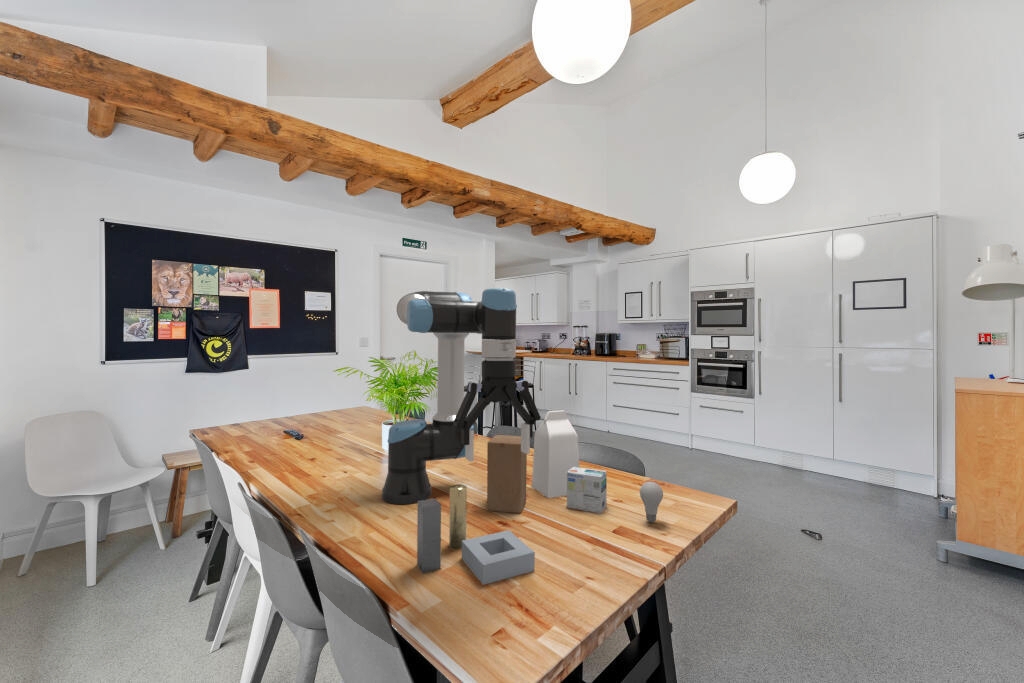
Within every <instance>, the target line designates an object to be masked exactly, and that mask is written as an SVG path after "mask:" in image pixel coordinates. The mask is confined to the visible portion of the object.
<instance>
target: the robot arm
mask: <svg viewBox="0 0 1024 683" xmlns="http://www.w3.org/2000/svg"><path fill="white" fill-rule="evenodd" d="M517 307H518V306H517V296H516V292H515V291H514V290H513V289H511V288H500V287H499V288H497V287H495V288H486V289H483V291H482V295H481V301H473V300H472V297H471V296H470V295H469V294H468V293H465V292H464V293H462V292H457V291H454V292H452V291H427V290H420V291H414V292H410V293H407V294H405V295H404V296H402V297H401V298H400V299H399V301H398V302H397V305H396V314H397V317H398V318H399V320H400V321H401V322H402V323H404V324H405V325H406V326H407V329H408V331H409V332H412V333H419V334H427V333H433V335H434V336H435V338H436V339H437V396H436V397H437V404H436V405H437V406H436V407H437V408H436V412H435V414H434V415H433V416H432V422H431V423H428V422H427V421H426V420H425V419H423V418H422V419H421V418H418V419H417V418H414V419H407V420H403V421H400V422H399V421H398V422H395V423H394V424H393V425H391V426H390V427H389V429H388V439H387V443H388V444H387V450H388V451H387V452H388V453H387V455H388V456H387V459H388V460H387V474H386V478H385V481H384V485H383V487H382V490H381V498H382V500H383V501H384V502H386V503H390V504H393V505H409V504H415V503H418V501H421V500H427V499H429V498H430V497H431V496H432V485H431V483H430V479H429V475H428V473H427V462H429V461H431V462H432V461H441V460H452V459H453V460H457V459H460V458H465V460H468V461H469V462H474V458H475V457H474V453H475V452H474V451H475V450H474V447H475V446H474V445H475V444H474V443H475V442H474V438H475V431H474V430H475V428H474V424H475V423H476V421H477V420H478V419H479V417H480V416H481V415H482V413H483V412H484V410H485V409H486V408H487V407H488V406H489V405H490V404H491V403H493V404H495V403H496V404H497V403H500V402H502V403H507V402H509V404H510V405H511V406H512V407H513V409H514V410H515V412H516V413H517V414H518V415H519V416H520V418H521V419H522V421H524V422H521V423H520V436H521V452H523V453H525V454H527V455H530V450H531V449H530V448H531V447H530V446H531V445H530V444H531V441H530V440H531V439H532V438H533V433H534V429H533V426H534V425H535V424H536V422H538V421H540V420H541V415H540V413H539V410H538V408H537V406H536V403H535V402H534V399H533V397H532V394H531V392H530V389H529V388H530V386H529V381H528V380H525V379H519V380H518V381H516V376H517V373H516V372H517V370H516V368H517V363H516V361H515V360H514V359H515V358H516V356H517V355H516V354H517V352H516V351H517V340H516V339H517ZM470 334H477V335H481V358H483V359H484V360H482V361H481V382H480V383H479V382H478V383H477V382H473V381H472V382H471V381H469V382H467V387H466V388H467V389H466V393H465V339H466V338H467V337H468V336H469V335H470ZM516 389H517V391H519V394H520V396H521V398H522V401H523V403H524V406H525V407H526V408H525V407H524V406H523V404H522V403H521V402H520V400H519V398H518V397H517V396H516V394H515V393H514V392H515V391H516ZM480 391H481V392H482V394H481V395H480V396H479V398H478V401H477V402H476V404H475V405H474V406H473V408H472V409H471V407H472V405H473V404H474V401H475V399H476V396H477V394H478V393H479V392H480ZM470 410H471V411H470Z"/></svg>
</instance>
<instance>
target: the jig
mask: <svg viewBox="0 0 1024 683" xmlns="http://www.w3.org/2000/svg"><path fill="white" fill-rule="evenodd" d="M535 553H536V552H535V551H534V550H533V549H532V548H531V547H529V545H527V544H526V543H525V542H524V541H522V539H520V538H519V537H517V536H516V534H514V533H513V532H512V531H511V530H509V529H508V530H504V531H498V532H494V533H489V534H485V535H480V536H478V537H477V536H476V537H473V538H469V539H467V538H466V540H463V541H462V549H461V559H462V561H463V562H464V563H465V564H466V566H467V567H468V568H469V569H470V570H471V572H472V573H473V574H474V575H475V577H476V578H477V579H478V580H479V581H480V583H481V584H482V586H483V585H489V584H491V583H495V582H498V581H502V580H506V579H509V578H513V577H517V576H520V575H525V574H528V573H531V572H534V571H535V568H536V567H535V566H536V565H535V561H536V560H535Z"/></svg>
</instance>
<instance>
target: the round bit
mask: <svg viewBox="0 0 1024 683" xmlns="http://www.w3.org/2000/svg"><path fill="white" fill-rule="evenodd" d="M467 488H468V487H467V486H466V485H464V484H452V485H450V486H449V532H448V533H449V536H448V537H449V538H448V539H449V548H450V549H451V550H462V541H463V540H467V493H468V492H467Z"/></svg>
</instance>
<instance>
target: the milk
mask: <svg viewBox="0 0 1024 683" xmlns="http://www.w3.org/2000/svg"><path fill="white" fill-rule="evenodd" d="M533 439H534V440H533V458H532V459H533V460H532V476H531V477H532V480H531V487H532V488H533V489H534V490H535V491H539V493H540V494H542V495H543V496H544V497H546V498H547V499H551V498H558V497H564V496H567V472H568V471H569V470H570V469H571V468H572V467H578V468H580V455H579V454H580V453H579V450H580V449H579V436H578V433H577V431H576V430H575V428H574V427H573V425H572V423H571V422H570V420H569V419H568V416H567V413H566V411H565V410H550V411H547V412H546V414H545V416H544V420H543V421H541V423H540V424H539V426H538V427H537V428H536V429H535V432H534V438H533Z"/></svg>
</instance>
